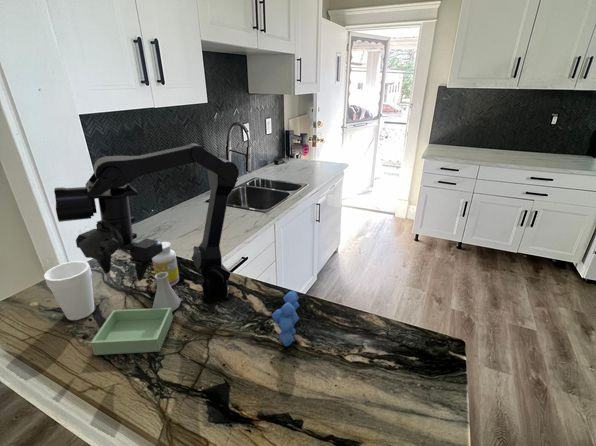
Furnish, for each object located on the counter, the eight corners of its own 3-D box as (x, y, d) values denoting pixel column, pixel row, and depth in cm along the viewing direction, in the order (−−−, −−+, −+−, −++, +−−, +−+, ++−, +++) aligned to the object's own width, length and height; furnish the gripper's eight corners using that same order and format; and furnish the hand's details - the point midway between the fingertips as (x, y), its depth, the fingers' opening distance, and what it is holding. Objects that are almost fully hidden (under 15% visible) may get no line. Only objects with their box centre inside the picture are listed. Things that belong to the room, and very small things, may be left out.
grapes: (277, 319, 82) (276, 280, 78) (302, 322, 81) (303, 283, 77) (265, 352, 72) (264, 310, 67) (294, 356, 71) (295, 313, 66)
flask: (171, 316, 83) (165, 284, 79) (146, 312, 84) (140, 280, 80) (185, 300, 89) (181, 269, 85) (162, 296, 90) (157, 266, 87)
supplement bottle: (151, 283, 96) (144, 246, 91) (170, 274, 101) (164, 238, 96) (166, 290, 93) (159, 252, 88) (184, 280, 98) (178, 243, 93)
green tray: (173, 318, 82) (171, 307, 80) (159, 351, 72) (157, 339, 70) (116, 321, 81) (113, 310, 79) (94, 355, 70) (90, 342, 69)
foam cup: (50, 318, 81) (35, 275, 76) (84, 298, 89) (72, 258, 84) (75, 328, 78) (61, 284, 73) (108, 306, 86) (97, 265, 81)
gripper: (46, 219, 64) (60, 285, 70) (124, 234, 60) (133, 303, 66) (92, 205, 74) (101, 263, 80) (161, 217, 71) (166, 277, 76)
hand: (123, 276), depth 75 cm, fingers open, 9 cm apart
